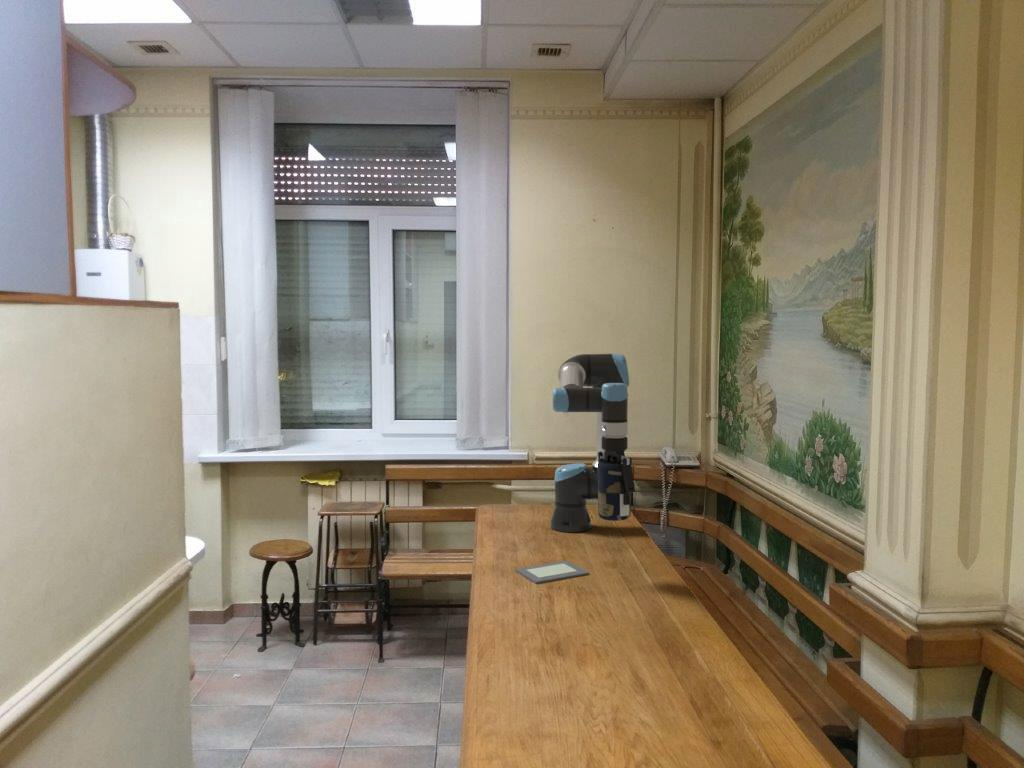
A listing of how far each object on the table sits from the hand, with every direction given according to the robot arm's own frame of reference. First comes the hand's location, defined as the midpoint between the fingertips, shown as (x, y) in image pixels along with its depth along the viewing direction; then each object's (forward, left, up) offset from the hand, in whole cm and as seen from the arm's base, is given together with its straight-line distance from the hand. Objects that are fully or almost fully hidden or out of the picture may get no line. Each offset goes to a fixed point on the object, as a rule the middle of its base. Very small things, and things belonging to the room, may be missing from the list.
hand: (614, 511), depth 212 cm
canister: (0, 0, -2) cm, 2 cm away
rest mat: (+15, -11, -19) cm, 27 cm away
